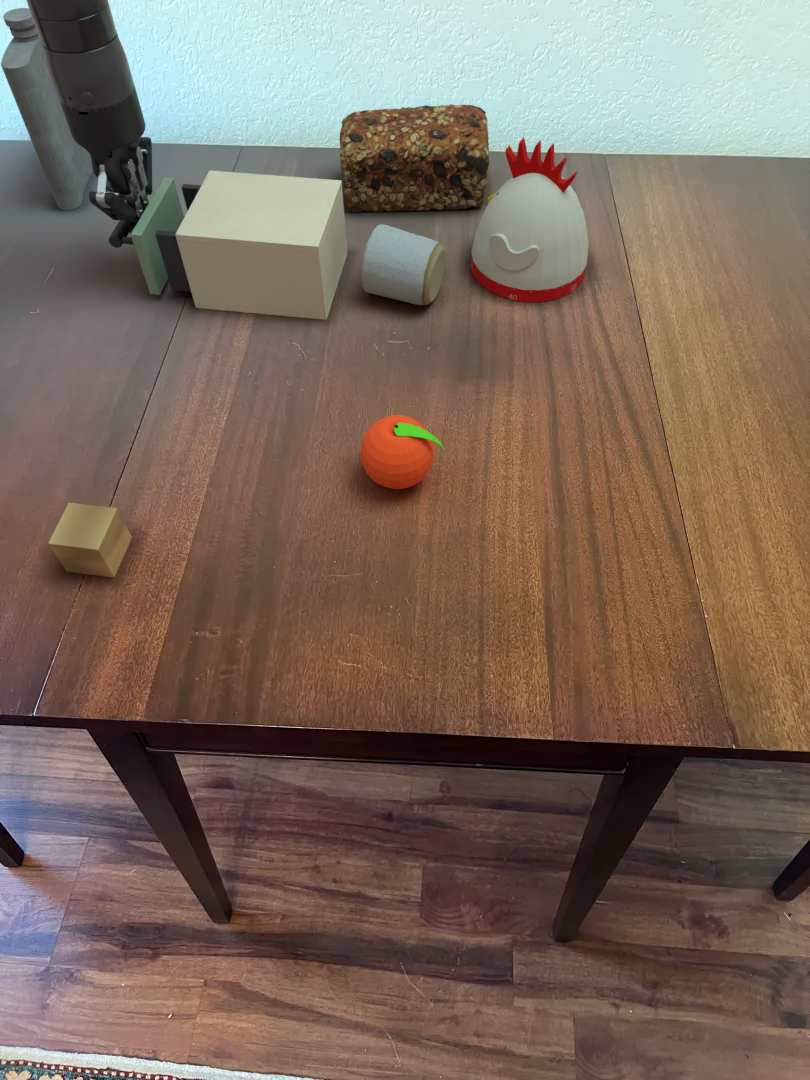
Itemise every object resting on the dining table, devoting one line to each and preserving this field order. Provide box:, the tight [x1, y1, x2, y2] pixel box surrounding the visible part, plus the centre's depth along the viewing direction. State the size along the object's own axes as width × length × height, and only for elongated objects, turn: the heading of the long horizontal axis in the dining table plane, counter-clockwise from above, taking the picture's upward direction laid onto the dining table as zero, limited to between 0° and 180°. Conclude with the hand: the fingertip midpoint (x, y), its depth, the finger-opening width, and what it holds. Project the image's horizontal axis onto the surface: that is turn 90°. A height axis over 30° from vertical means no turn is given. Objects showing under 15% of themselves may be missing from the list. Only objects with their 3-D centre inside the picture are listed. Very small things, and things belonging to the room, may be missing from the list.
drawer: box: [108, 176, 202, 296], centre depth 91 cm, size 19×11×8 cm, turn 81°
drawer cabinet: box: [175, 170, 348, 321], centre depth 90 cm, size 16×13×10 cm
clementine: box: [360, 414, 446, 490], centre depth 73 cm, size 8×7×7 cm
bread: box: [339, 104, 490, 213], centre depth 100 cm, size 19×11×10 cm, turn 90°
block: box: [47, 502, 133, 579], centre depth 69 cm, size 4×4×4 cm
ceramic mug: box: [361, 223, 447, 306], centre depth 90 cm, size 11×8×8 cm
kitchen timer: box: [470, 137, 589, 303], centre depth 89 cm, size 14×14×15 cm
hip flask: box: [0, 7, 94, 211], centre depth 99 cm, size 16×4×20 cm, turn 178°
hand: (144, 241), depth 92 cm, fingers closed
